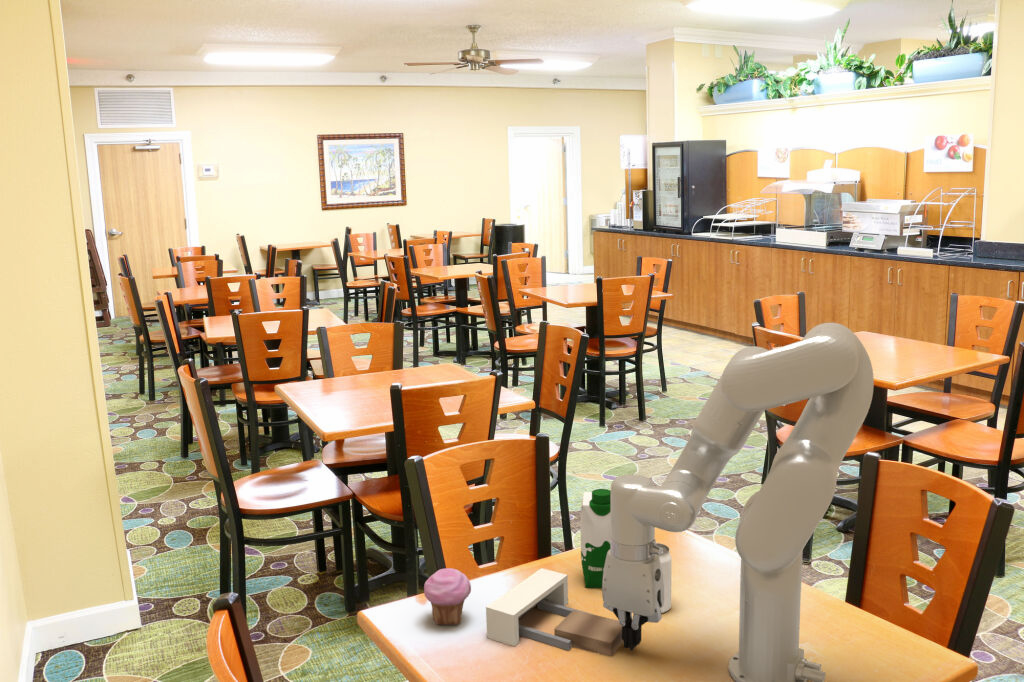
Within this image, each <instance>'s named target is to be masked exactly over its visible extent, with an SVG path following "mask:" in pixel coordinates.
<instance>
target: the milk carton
mask: <svg viewBox="0 0 1024 682" xmlns="http://www.w3.org/2000/svg"><path fill="white" fill-rule="evenodd" d="M580 505H581V506H580V510H581V511H580V559H581V562H580V563H581V566H582V567H581V568H582V574H583V579H584V580H583V581H584V587H585V588H588V589H594V588H595V589H602V583H603V573H604V566H605V561H606V556H607V552H608V551H609V550H610V536H611V489H606V488H597V489H594V490H592V491H584V492H583V496H582V499H581V504H580Z"/></svg>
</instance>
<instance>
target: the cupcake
mask: <svg viewBox="0 0 1024 682" xmlns="http://www.w3.org/2000/svg"><path fill="white" fill-rule="evenodd" d="M423 585H424V586H423V590H424V591H423V593H424V597H425V598H426V600H428V602H430V604H431V610H432V613H431V614H432V619H433V622H434V623H435V624H436V625H440V626H445V625H446V626H447V625H449V626H450V625H452V626H457V625H460V624H461V622H462V615H463V614H462V613H463V608H464V603H465V600H466V599H467V598H468V597H469V596H470V594H471V592H472V585H471V581H470V579H469V578H468V577H467V575H466V574H465V573H463V572H461V571H460V570H459V569H455V568H451V567H449V568H447V567H446V568H441V569H438V570H437V571H435V572H434V573H433V574H431V575H430V576H429V577H428V579H427V580H426V581H425V582H424V584H423Z"/></svg>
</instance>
